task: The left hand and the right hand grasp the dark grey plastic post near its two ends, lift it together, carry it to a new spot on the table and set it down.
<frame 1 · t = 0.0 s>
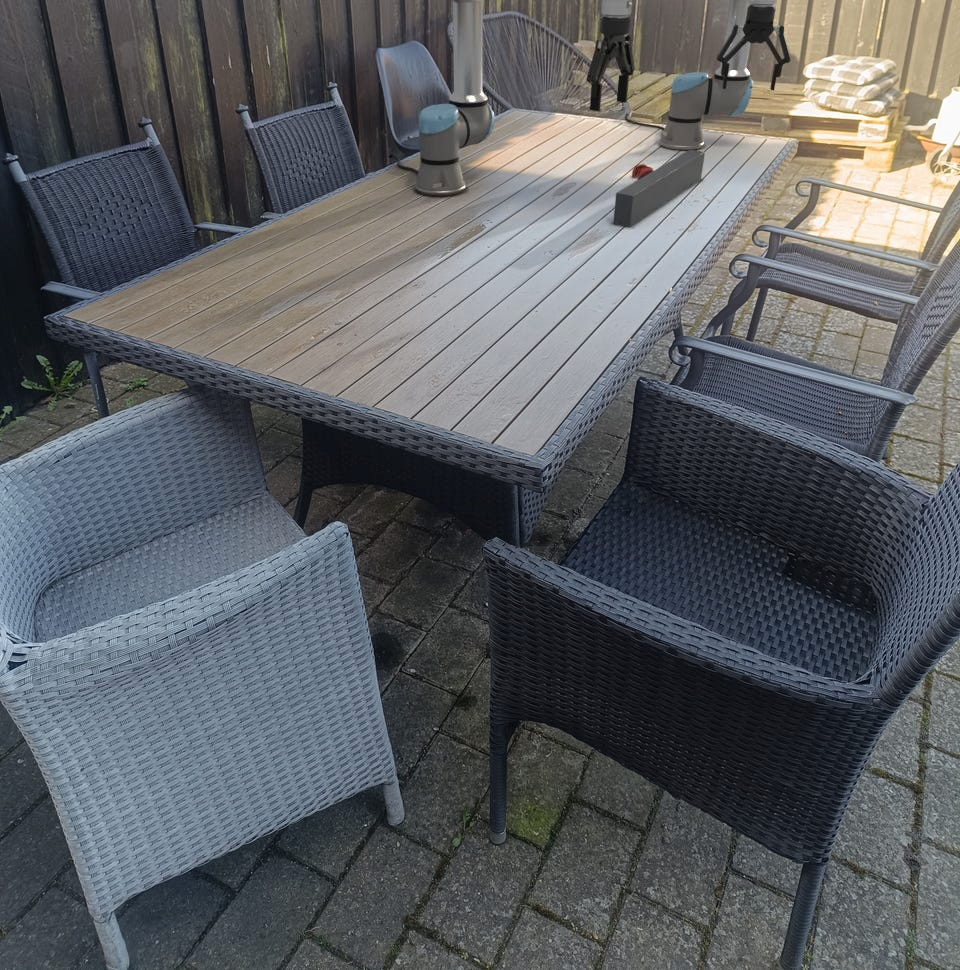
left hand: (608, 106, 226), 28 cm above the table, tool pointing down, fingers open, 13 cm apart
right hand: (747, 88, 245), 28 cm above the table, tool pointing down, fingers open, 13 cm apart
red irregular lump: (643, 178, 268), on the table
post: (660, 200, 250), on the table
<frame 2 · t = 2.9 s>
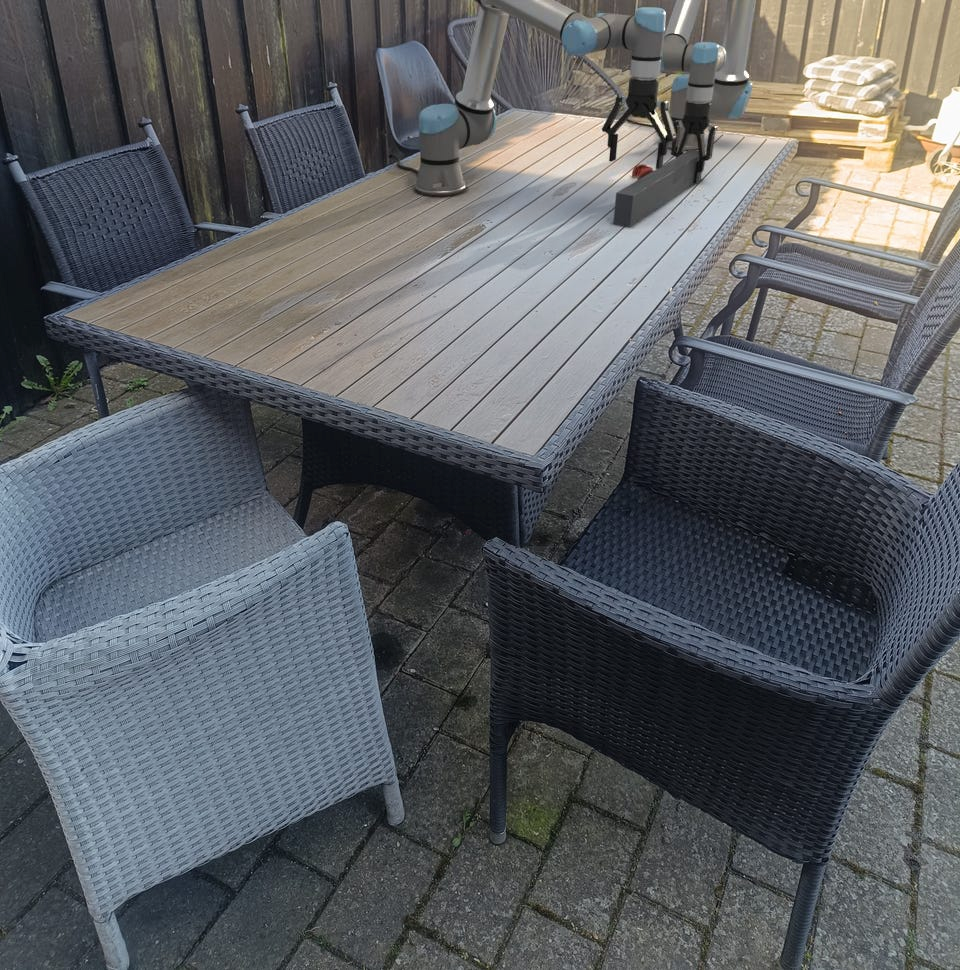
left hand: (635, 164, 226), 15 cm above the table, tool pointing down, fingers open, 13 cm apart
right hand: (687, 180, 264), 1 cm above the table, tool pointing down, fingers closed on post, 5 cm apart
post: (660, 200, 250), on the table, touching right hand
everything else where it was.
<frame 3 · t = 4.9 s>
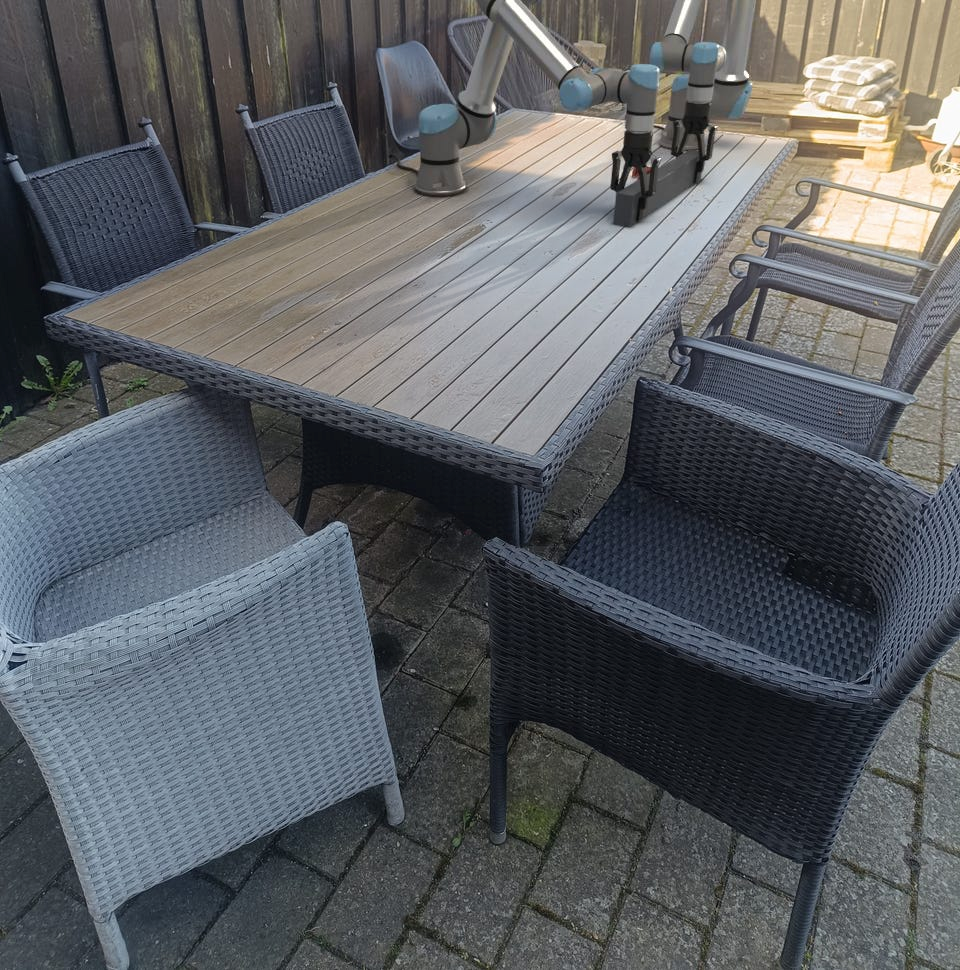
left hand: (629, 218, 235), 1 cm above the table, tool pointing down, fingers closed on post, 5 cm apart
right hand: (687, 180, 264), 1 cm above the table, tool pointing down, fingers closed on post, 5 cm apart
post: (660, 200, 250), on the table, touching left hand, right hand
everything else where it was.
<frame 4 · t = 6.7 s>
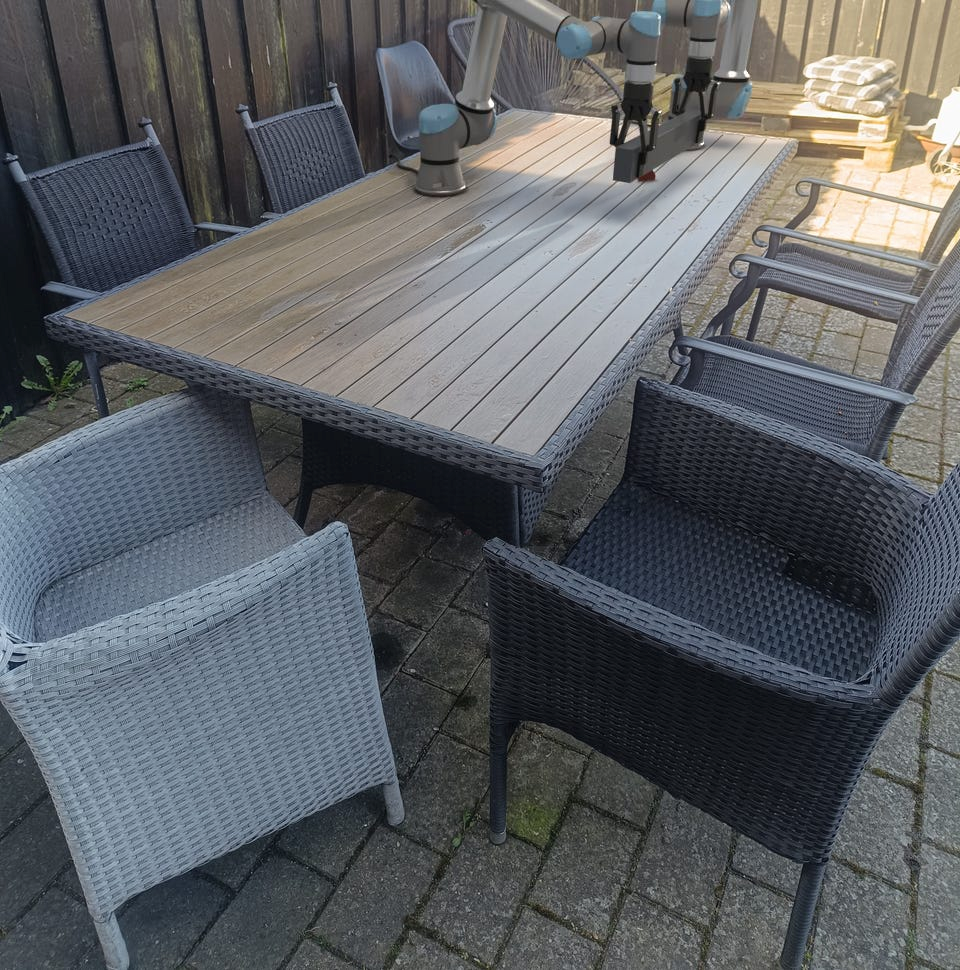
left hand: (629, 174, 228), 12 cm above the table, tool pointing down, fingers closed on post, 5 cm apart
right hand: (689, 140, 257), 13 cm above the table, tool pointing down, fingers closed on post, 5 cm apart
post: (660, 158, 243), point 12 cm above the table, touching left hand, right hand
everything else where it was.
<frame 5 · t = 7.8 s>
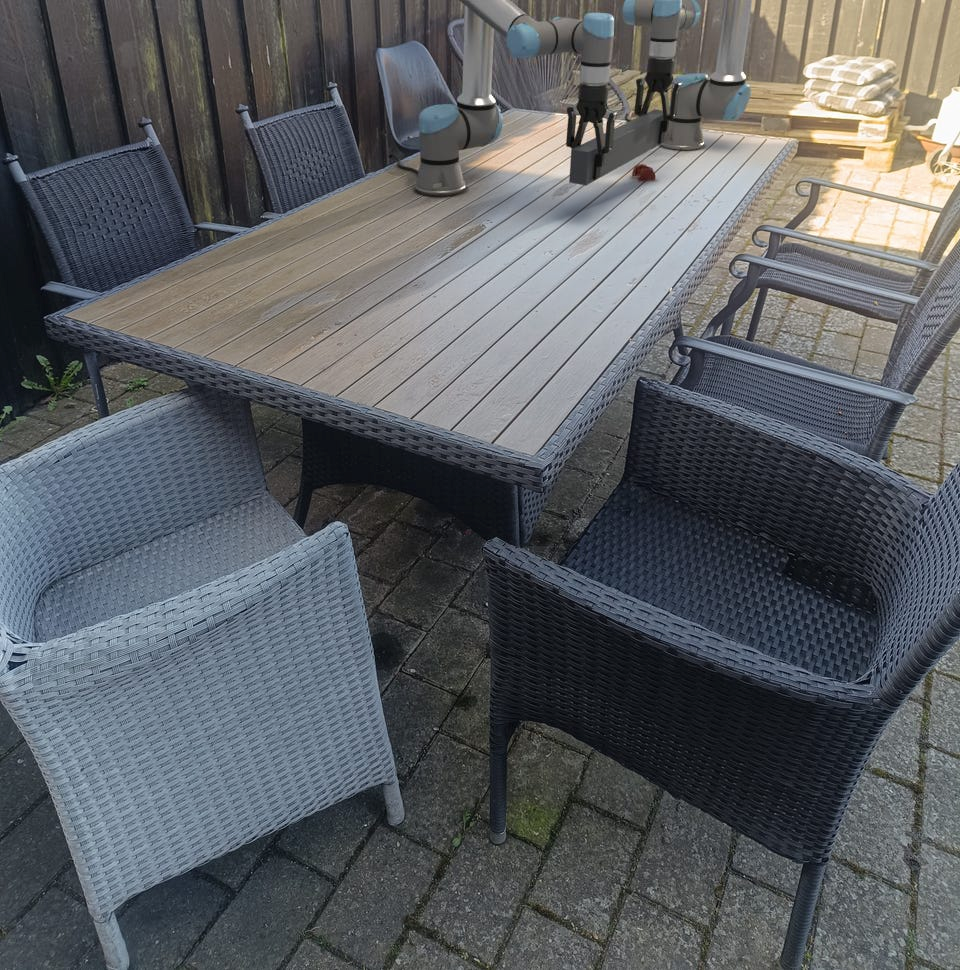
left hand: (586, 176, 227), 12 cm above the table, tool pointing down, fingers closed on post, 5 cm apart
right hand: (652, 141, 256), 13 cm above the table, tool pointing down, fingers closed on post, 5 cm apart
post: (621, 160, 242), point 12 cm above the table, touching left hand, right hand
everything else where it was.
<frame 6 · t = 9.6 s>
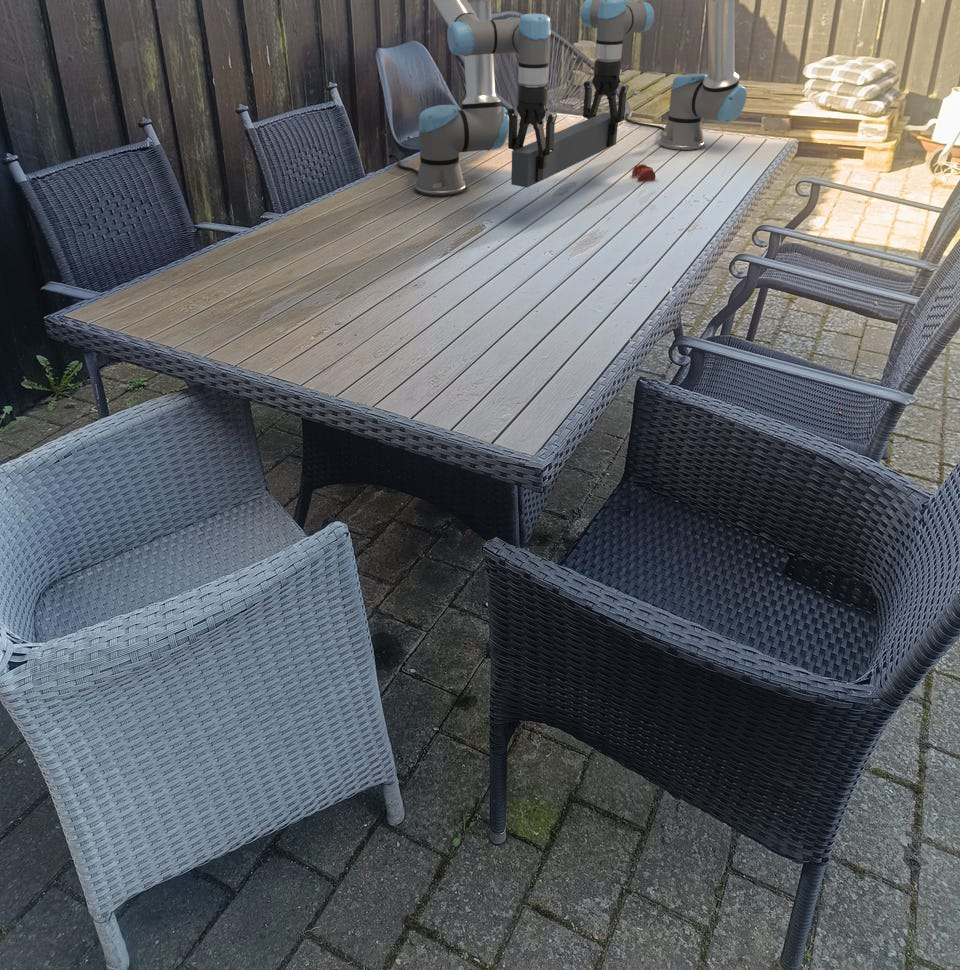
left hand: (529, 178, 225), 12 cm above the table, tool pointing down, fingers closed on post, 5 cm apart
right hand: (601, 144, 255), 12 cm above the table, tool pointing down, fingers closed on post, 5 cm apart
post: (567, 162, 240), point 12 cm above the table, touching left hand, right hand
everything else where it was.
when the left hand's fingers open (2 cm above the table, at t = 10.9 s): post drops 1 cm, on the table.
when the right hand's fingers open (2 cm above the table, at t = 10.9 s): post drops 1 cm, on the table.
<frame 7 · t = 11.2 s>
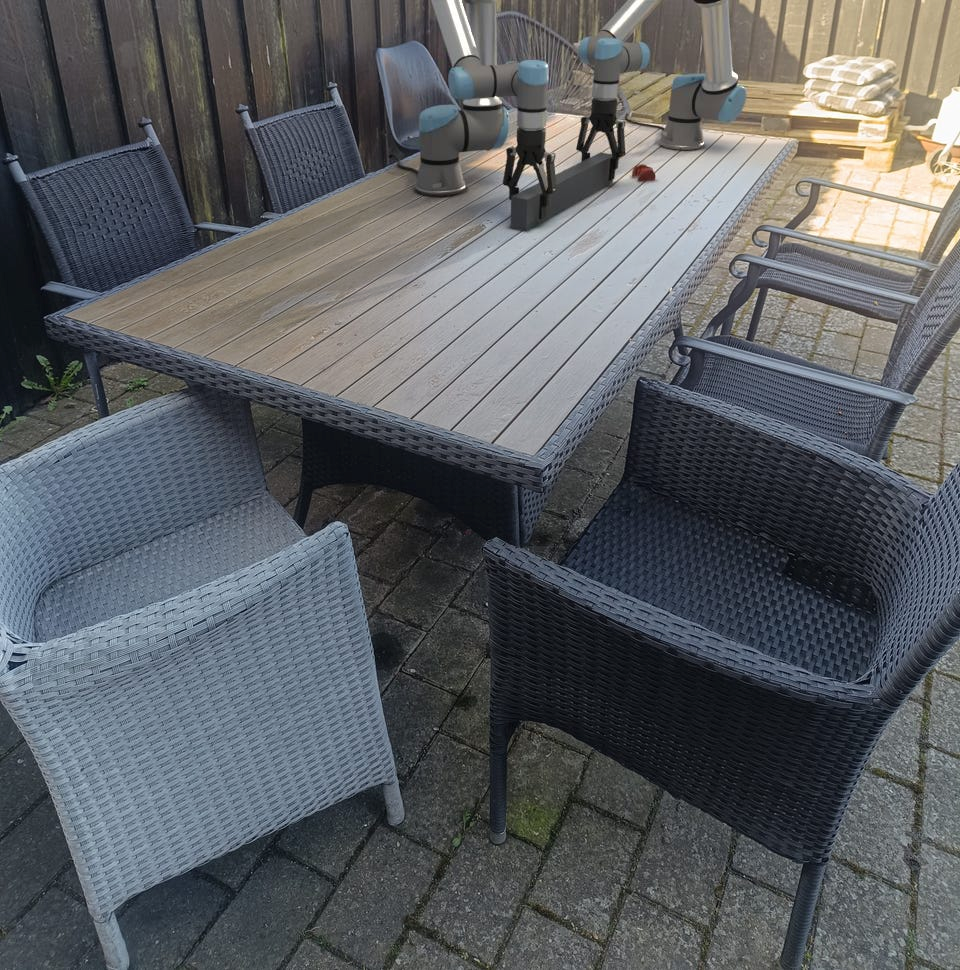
left hand: (528, 215, 231), 3 cm above the table, tool pointing down, fingers open, 8 cm apart
right hand: (598, 177, 260), 3 cm above the table, tool pointing down, fingers open, 8 cm apart
post: (565, 203, 247), on the table
everything else where it was.
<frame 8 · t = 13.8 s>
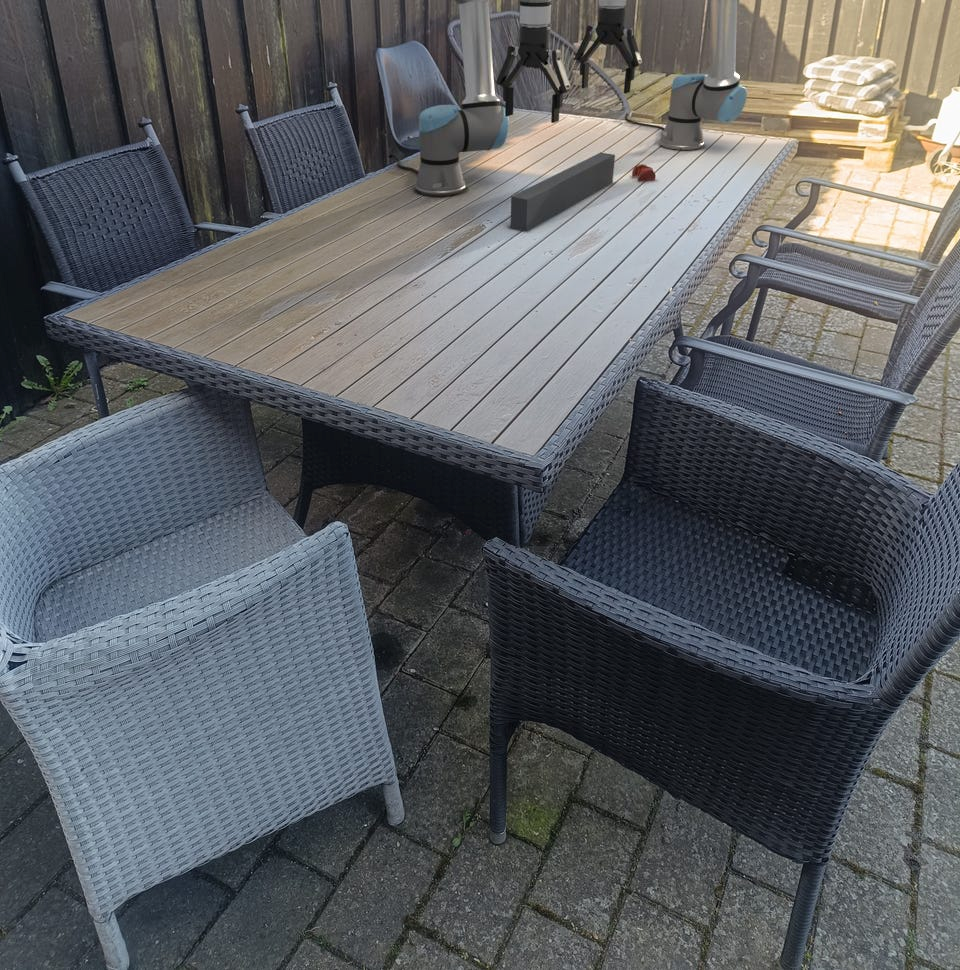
left hand: (531, 118, 216), 27 cm above the table, tool pointing down, fingers open, 13 cm apart
right hand: (605, 90, 246), 27 cm above the table, tool pointing down, fingers open, 13 cm apart
nothing on the table moved.
at the end: post inside the target area (0.1 cm from its centre), on the table; post tilted 0°; post never tilted more than 1° during the clip; both hands held the post at the same time; the left hand is holding nothing; the right hand is holding nothing; post at rest at the end (0.0 cm/s) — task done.
